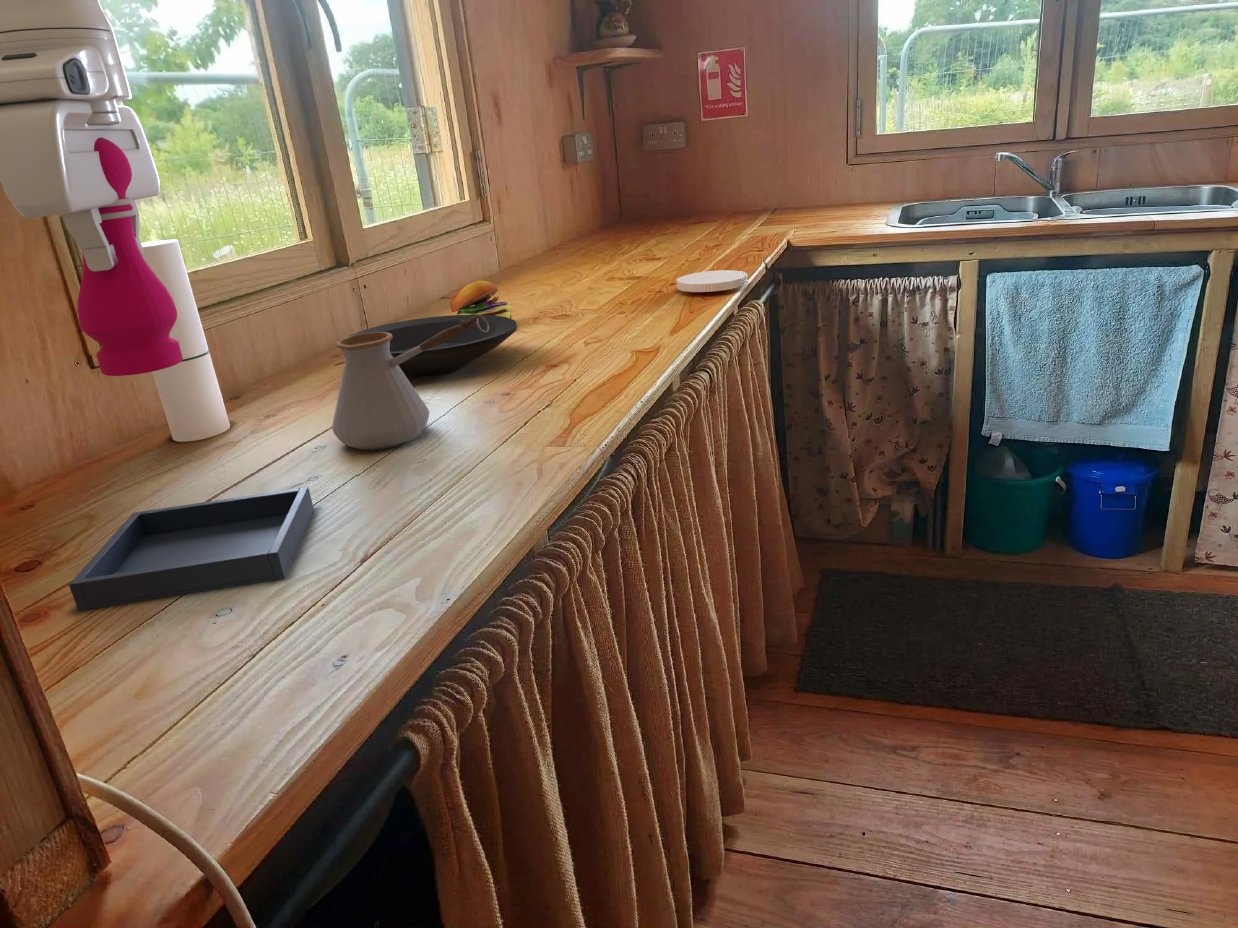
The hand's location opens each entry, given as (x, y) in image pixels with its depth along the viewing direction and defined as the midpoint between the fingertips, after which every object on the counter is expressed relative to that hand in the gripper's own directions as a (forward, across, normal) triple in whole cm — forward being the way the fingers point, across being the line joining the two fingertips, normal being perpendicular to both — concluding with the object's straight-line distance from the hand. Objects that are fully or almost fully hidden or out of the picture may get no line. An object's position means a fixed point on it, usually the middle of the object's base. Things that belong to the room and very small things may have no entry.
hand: (118, 264), depth 71 cm
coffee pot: (+27, -24, +18) cm, 40 cm away
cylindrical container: (+27, -40, -12) cm, 49 cm away
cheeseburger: (+27, -83, +27) cm, 91 cm away
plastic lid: (+27, -92, +72) cm, 120 cm away
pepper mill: (+9, 0, 0) cm, 9 cm away
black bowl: (+27, -60, +18) cm, 68 cm away
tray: (+27, +1, 0) cm, 27 cm away
